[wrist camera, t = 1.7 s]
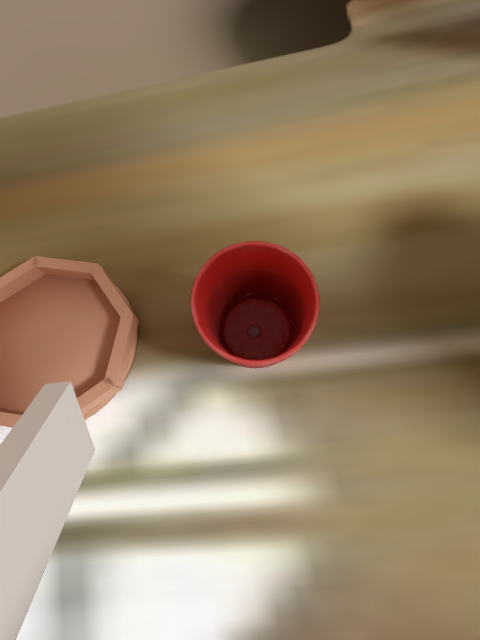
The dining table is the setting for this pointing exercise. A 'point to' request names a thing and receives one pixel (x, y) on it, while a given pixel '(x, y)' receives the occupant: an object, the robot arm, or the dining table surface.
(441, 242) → the dining table surface
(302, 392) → the dining table surface
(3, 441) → the robot arm
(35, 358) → the terracotta saucer
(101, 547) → the dining table surface
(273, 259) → the flower pot
